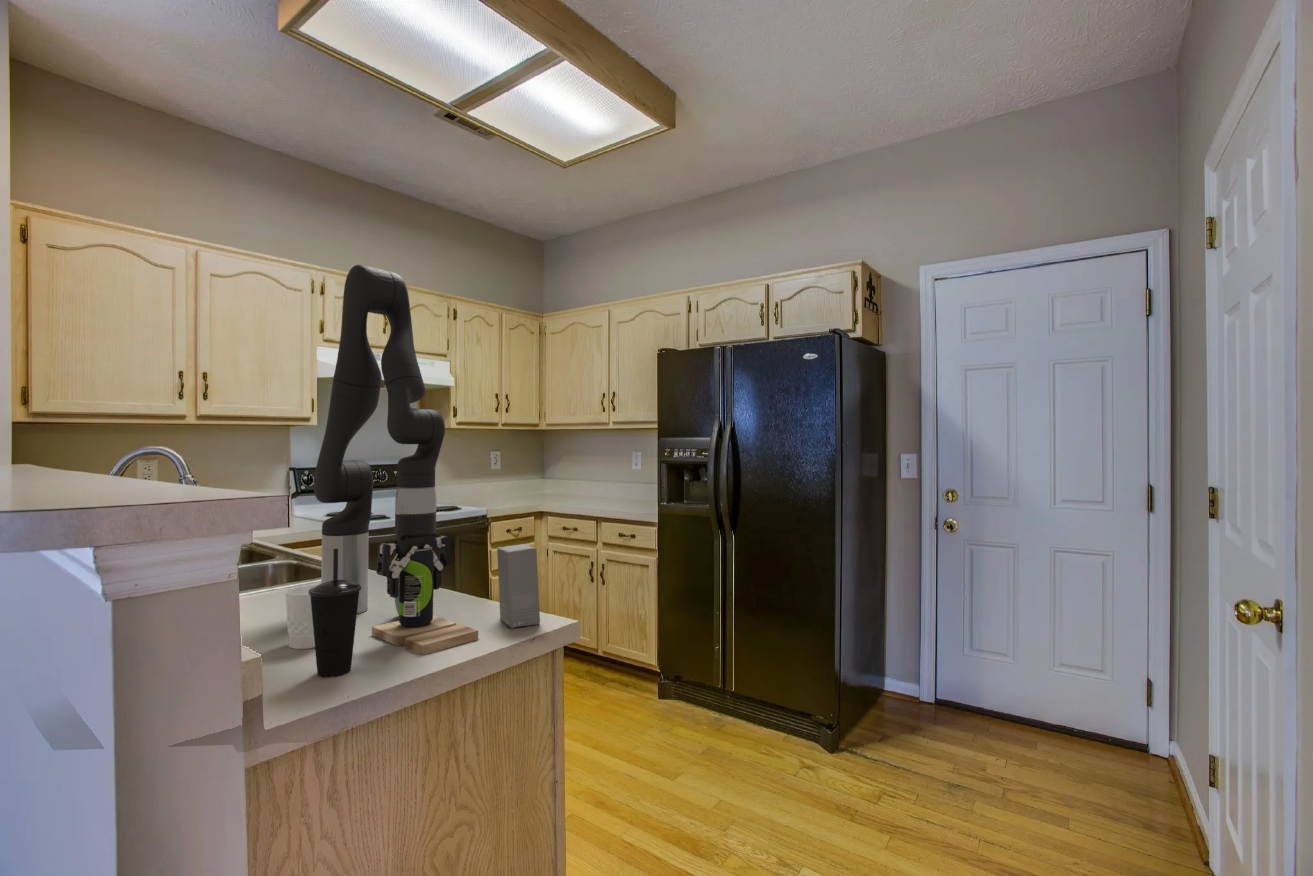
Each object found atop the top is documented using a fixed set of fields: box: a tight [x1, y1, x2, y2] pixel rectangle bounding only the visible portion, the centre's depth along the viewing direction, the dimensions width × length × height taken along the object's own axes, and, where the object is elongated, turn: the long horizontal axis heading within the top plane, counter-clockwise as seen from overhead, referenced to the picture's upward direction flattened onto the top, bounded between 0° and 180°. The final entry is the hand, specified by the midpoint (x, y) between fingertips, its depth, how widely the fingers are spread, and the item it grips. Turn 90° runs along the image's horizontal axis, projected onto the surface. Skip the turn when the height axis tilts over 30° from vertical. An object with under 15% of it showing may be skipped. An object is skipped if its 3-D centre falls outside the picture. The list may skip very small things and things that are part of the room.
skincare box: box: [496, 543, 541, 629], centre depth 129 cm, size 8×7×16 cm
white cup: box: [285, 584, 318, 650], centre depth 114 cm, size 8×8×10 cm
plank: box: [371, 614, 457, 647], centre depth 120 cm, size 10×12×2 cm
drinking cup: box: [308, 549, 361, 679], centre depth 100 cm, size 8×8×20 cm
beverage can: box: [398, 547, 435, 628], centre depth 121 cm, size 6×6×15 cm
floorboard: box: [401, 623, 479, 656], centre depth 115 cm, size 7×12×2 cm, turn 140°
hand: (414, 592), depth 120 cm, fingers open, 8 cm apart
